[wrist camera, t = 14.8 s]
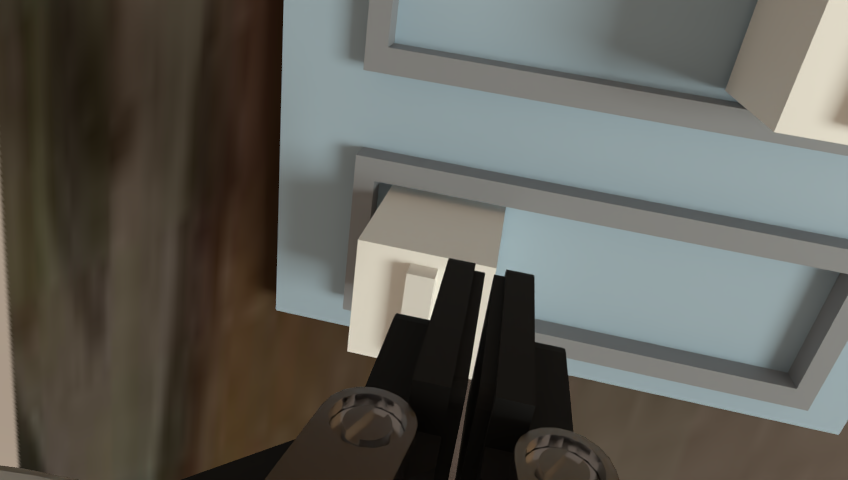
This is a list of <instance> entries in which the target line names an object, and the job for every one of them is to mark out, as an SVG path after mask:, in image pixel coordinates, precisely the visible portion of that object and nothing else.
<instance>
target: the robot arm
mask: <svg viewBox="0 0 848 480" xmlns="http://www.w3.org/2000/svg"><path fill="white" fill-rule="evenodd" d="M475 265H476V263H472V262H467V261H462V260H457V259H452V258H449V259H448V262H447V265H446V269H445V272H444V275H443V279H442V282H441V285H440V289H439V292H438V295H437V299H436V302H435V305H434V309H433V312H432V315H431V319H430V320H428V319H423V318H418V317H413V316H408V315H404V314H399V313H396V314H395V316H394V318H393V320H392V323H391V325H390V328H389V330H388V332H387V335H386V337H385V340H384V342H383V345H382V347H381V350H380V352H379V354H378V357H377V359H376V362H375V364H374V367H373V369H372V371H371V374H370V376H369V379H368V381H367V384H366V386H365V387H354V388H349V389H344V390H342V391H340V392H337V393H335V394H333V395H331V396H330V397H329V398H328V399H327V400H326V401H325V402H324V403H323V404H322V405H321V406H320V407H319V409H318V410H317V411H316V413H315V414H314V415H313V417H312V418H311V419H310V421H309V422H308V423H307V425H306V426H305V427H304V428H303V430H302V431H301V432H300V434H299V435H298V436H297V438H296V439H295V440H292V441H289V442H286V443H283V444H281V445H278V446H275V447H272V448H269V449H266V450H264V451H261V452H258V453H255V454H252V455H249V456H247V457H244V458H241V459H238V460H235V461H233V462H230V463H227V464H224V465H221V466H218V467H216V468H213V469H210V470H207V471H204V472H202V473H199V474H196V475H193V476H190V477H187V478H185V479H182V480H448V477H449V473H450V468H451V463H452V458H453V453H454V449H455V444H456V439H457V434H458V430H459V425H460V420H461V415H462V410H463V405H464V400H465V395H466V390H467V384H468V378H469V372H470V366H471V359H472V353H473V347H474V341H475V334H476V328H477V322H478V316H479V309H480V303H481V297H482V291H483V284H484V278H485V272H480V271H475ZM0 480H78V479H73V478H68V477H63V476H58V475H52V474H47V473H42V472H37V471H32V470H27V469H22V468H15V467H7V466H0ZM455 480H619V477H618V474H617V471H616V469H615V467H614V465H613V463H612V462H611V460H610V458H609V457H608V456H607V455H606V454H605V452H604V451H603V450H602V449H601V448H600V447H599V446H597V445H596V444H594V443H593V442H591V441H590V440H589V439H587V438H586V437H583V436H581V435H579V434H577V433H574V432H573V424H572V413H571V402H570V391H569V380H568V369H567V358H566V351H565V349H564V348H562V347H557V346H552V345H547V344H543V343H538V342H535V277H534V275H532V274H527V273H522V272H517V271H512V270H507V269H506V272H505V276H500V275H495V274H494V277H493V281H492V286H491V291H490V295H489V300H488V305H487V309H486V314H485V319H484V324H483V328H482V333H481V338H480V343H479V347H478V352H477V357H476V362H475V366H474V371H473V376H472V380H471V385H470V390H469V395H468V401H467V407H466V413H465V420H464V426H463V433H462V439H461V446H460V452H459V459H458V465H457V472H456V478H455Z"/></svg>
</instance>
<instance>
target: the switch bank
mask: <svg viewBox="0 0 848 480" xmlns="http://www.w3.org/2000/svg"><path fill="white" fill-rule="evenodd" d="M757 1H758V0H284V12H283V52H282V91H281V131H280V171H279V210H278V250H277V289H276V310H278V311H282V312H287V313H292V314H296V315H301V316H305V317H310V318H314V319H319V320H323V321H328V322H332V323H337V324H341V325H346V326H350V318H351V307H352V297H353V286H354V275H355V265H356V254H357V244H358V239H359V237H360V236H361V234H362V232H363V231H364V229H365V228H366V226H367V224H368V223H369V221H370V220H371V218H372V217H373V215H374V213H375V212H376V210H377V209H378V207H379V205H380V204H381V202H382V201H383V199H384V197H385V196H386V194H387V193H388V191H389V190H390V188H391V186H392V185H396V186H401V187H406V188H411V189H417V190H422V191H427V192H432V193H437V194H442V195H447V196H452V197H457V198H462V199H467V200H473V201H478V202H483V203H488V204H493V205H498V206H503V207H506V210H505V216H504V223H503V229H502V236H501V242H500V249H499V255H498V262H497V268H496V273H495V275H500V276H505V272H506V269H507V270H512V271H517V272H522V273H527V274H532V275H534V277H535V342H538V343H543V344H547V345H552V346H557V347H562V348H564V349H565V351H566V358H567V369H568V375H571V376H576V377H580V378H585V379H589V380H594V381H598V382H603V383H607V384H612V385H616V386H621V387H625V388H630V389H634V390H639V391H643V392H648V393H653V394H657V395H662V396H666V397H671V398H675V399H680V400H684V401H689V402H693V403H698V404H702V405H707V406H711V407H716V408H720V409H725V410H729V411H734V412H738V413H743V414H747V415H752V416H756V417H761V418H765V419H770V420H774V421H779V422H783V423H788V424H792V425H797V426H801V427H806V428H810V429H815V430H819V431H824V432H829V433H833V434H838V435H839V433H840V432H841V430H842V429H843V427H844V425H845V424H846V422H847V420H848V145H844V144H838V143H833V142H827V141H821V140H815V139H810V138H804V137H798V136H793V135H787V134H781V133H776V132H773V131H772V130H771V129H770V128H769V127H767V126H766V125H765V124H764V123H763V122H761V121H760V120H759V119H758V118H757V117H756V116H754V115H753V114H752V113H751V112H750V111H748V110H747V109H746V108H745V107H744V106H742V105H741V104H740V103H739V102H738V101H737V100H735V99H734V98H733V97H732V96H731V95H729V94H728V93H727V92H726V91H725V89H726V86H727V84H728V81H729V78H730V75H731V73H732V70H733V67H734V64H735V62H736V59H737V56H738V53H739V51H740V48H741V45H742V42H743V40H744V37H745V34H746V31H747V29H748V26H749V23H750V20H751V18H752V15H753V12H754V9H755V7H756V4H757Z"/></svg>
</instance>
